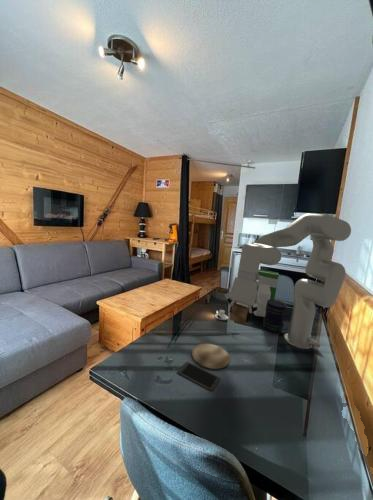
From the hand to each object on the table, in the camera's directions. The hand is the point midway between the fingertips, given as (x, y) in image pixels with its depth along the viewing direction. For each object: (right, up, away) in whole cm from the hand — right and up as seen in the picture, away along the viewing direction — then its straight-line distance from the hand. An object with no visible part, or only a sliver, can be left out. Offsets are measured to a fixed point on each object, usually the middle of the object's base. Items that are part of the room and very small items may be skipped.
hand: (239, 317), depth 88 cm
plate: (-12, -15, -1) cm, 19 cm away
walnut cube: (0, -1, 0) cm, 1 cm away
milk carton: (+24, -13, +48) cm, 55 cm away
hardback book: (+30, -11, +65) cm, 73 cm away
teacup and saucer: (-4, -12, +35) cm, 37 cm away
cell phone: (-18, -17, -12) cm, 27 cm away
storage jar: (+25, -16, +29) cm, 41 cm away
